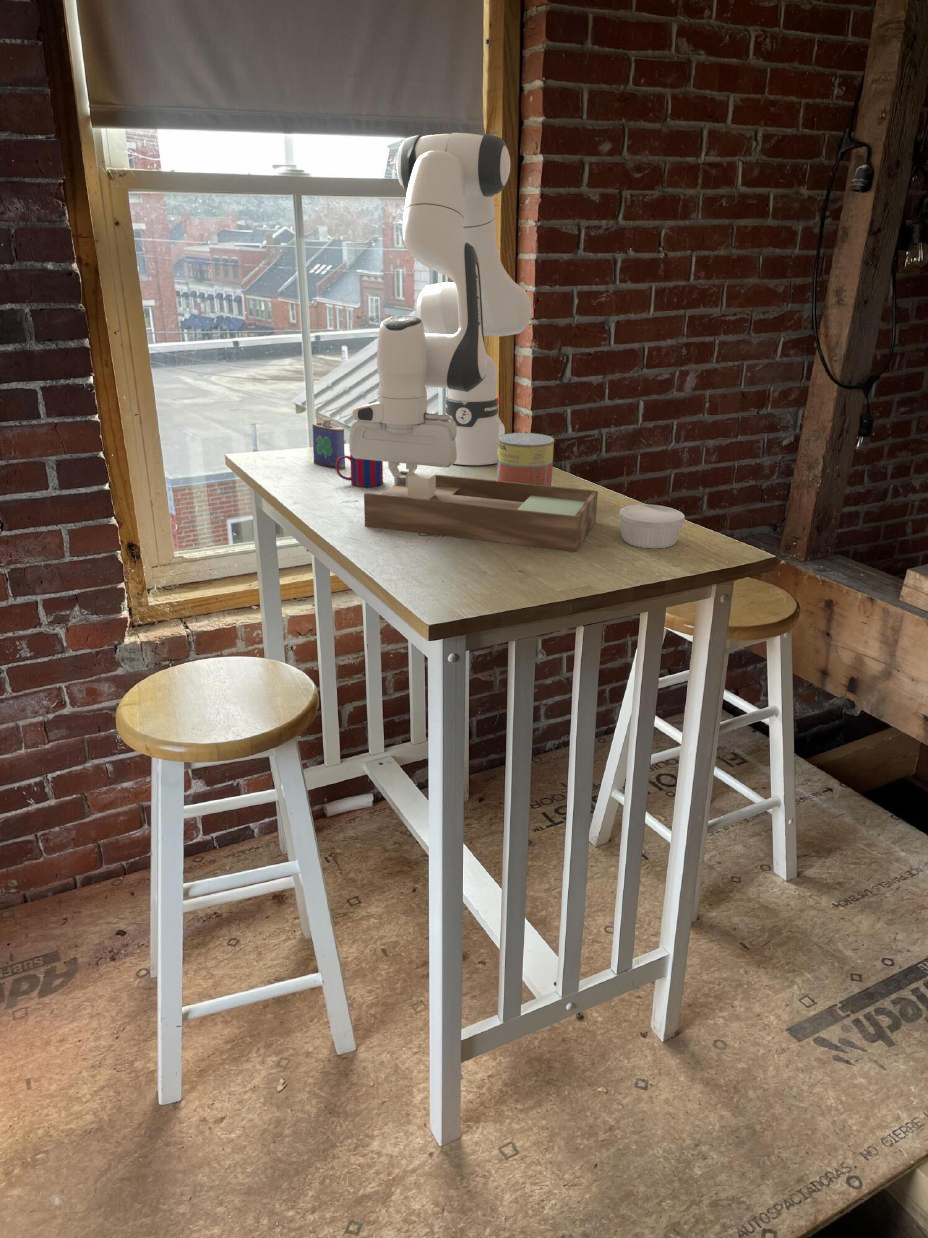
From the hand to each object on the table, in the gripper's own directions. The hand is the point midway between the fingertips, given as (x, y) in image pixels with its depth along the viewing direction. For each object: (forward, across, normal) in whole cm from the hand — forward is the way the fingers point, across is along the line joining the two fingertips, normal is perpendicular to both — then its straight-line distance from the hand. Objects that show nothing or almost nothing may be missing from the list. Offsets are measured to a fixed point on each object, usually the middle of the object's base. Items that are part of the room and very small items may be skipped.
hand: (403, 485), depth 169 cm
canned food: (+6, -18, -21) cm, 28 cm away
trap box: (+6, -16, 0) cm, 16 cm away
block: (+2, -4, 0) cm, 4 cm away
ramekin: (+6, -46, -2) cm, 46 cm away
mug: (+6, +17, -17) cm, 25 cm away
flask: (+6, +30, -29) cm, 42 cm away
